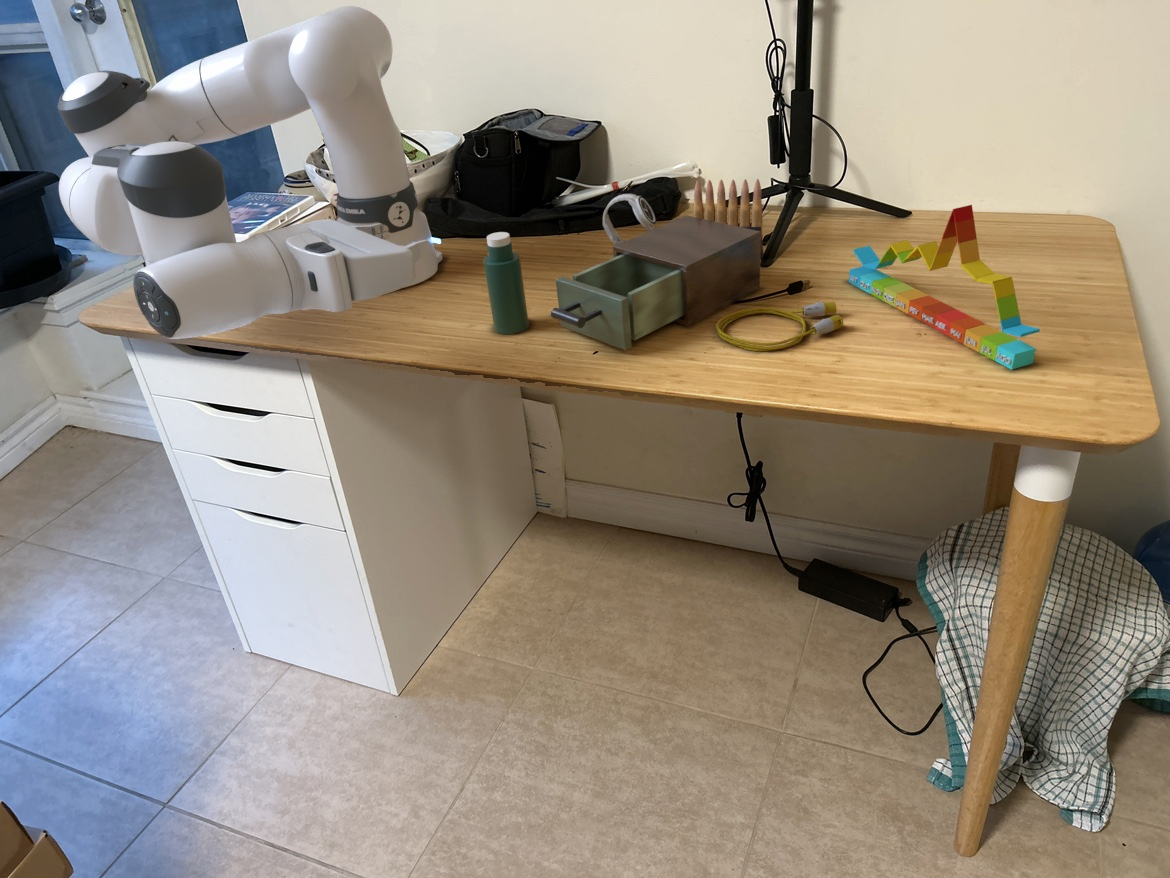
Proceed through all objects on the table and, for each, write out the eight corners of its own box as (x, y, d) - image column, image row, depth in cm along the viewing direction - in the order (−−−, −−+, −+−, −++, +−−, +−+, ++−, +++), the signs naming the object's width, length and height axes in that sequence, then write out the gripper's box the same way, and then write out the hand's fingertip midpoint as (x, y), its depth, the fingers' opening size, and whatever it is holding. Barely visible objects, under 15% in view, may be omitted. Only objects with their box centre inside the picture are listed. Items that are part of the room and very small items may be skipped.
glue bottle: (487, 328, 117) (472, 237, 110) (514, 316, 120) (501, 227, 113) (509, 337, 114) (494, 244, 107) (536, 325, 117) (523, 233, 110)
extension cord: (840, 356, 101) (842, 341, 100) (709, 349, 106) (709, 335, 105) (844, 313, 111) (845, 299, 110) (724, 309, 116) (724, 296, 114)
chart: (847, 282, 119) (855, 175, 111) (866, 277, 120) (876, 171, 112) (1009, 370, 95) (1035, 241, 87) (1032, 363, 96) (1060, 235, 88)
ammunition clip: (692, 258, 133) (690, 181, 126) (694, 254, 134) (692, 178, 128) (761, 259, 130) (763, 180, 123) (763, 255, 131) (764, 177, 125)
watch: (655, 272, 129) (651, 200, 123) (603, 272, 131) (597, 202, 125) (660, 258, 134) (657, 189, 128) (610, 259, 136) (605, 190, 130)
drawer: (600, 363, 104) (596, 312, 100) (536, 337, 112) (530, 289, 108) (700, 311, 114) (699, 264, 110) (635, 291, 122) (632, 246, 118)
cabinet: (688, 326, 112) (686, 266, 108) (616, 303, 121) (612, 246, 116) (759, 288, 120) (761, 231, 116) (688, 269, 129) (686, 215, 125)
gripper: (265, 273, 102) (367, 246, 110) (347, 317, 89) (457, 282, 96) (252, 221, 99) (358, 197, 107) (335, 258, 85) (450, 227, 93)
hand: (406, 238), depth 101 cm, fingers open, 8 cm apart
